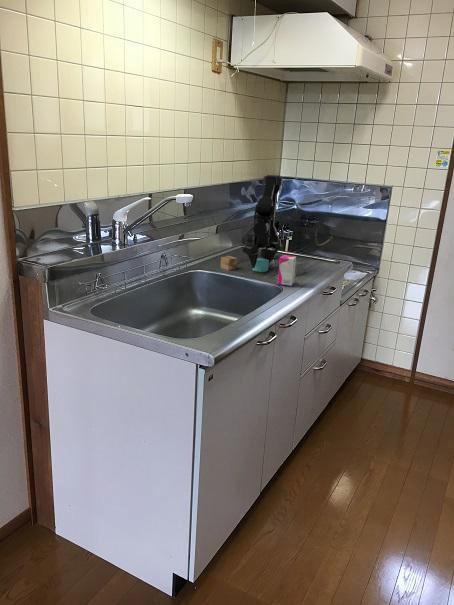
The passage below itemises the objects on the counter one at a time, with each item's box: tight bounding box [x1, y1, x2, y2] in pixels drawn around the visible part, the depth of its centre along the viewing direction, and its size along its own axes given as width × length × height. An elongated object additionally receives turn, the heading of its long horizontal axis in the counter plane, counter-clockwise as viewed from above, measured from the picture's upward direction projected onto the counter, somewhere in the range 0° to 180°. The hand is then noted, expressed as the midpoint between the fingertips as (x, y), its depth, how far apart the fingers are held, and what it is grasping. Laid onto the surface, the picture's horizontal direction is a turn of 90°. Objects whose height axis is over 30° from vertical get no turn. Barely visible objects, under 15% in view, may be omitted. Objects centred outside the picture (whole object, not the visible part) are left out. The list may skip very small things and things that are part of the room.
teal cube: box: [251, 257, 270, 273], centre depth 220 cm, size 5×5×5 cm
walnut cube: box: [220, 255, 238, 271], centre depth 220 cm, size 5×5×5 cm
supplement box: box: [277, 254, 297, 288], centre depth 200 cm, size 6×6×12 cm
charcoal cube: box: [295, 260, 305, 276], centre depth 218 cm, size 5×5×5 cm
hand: (260, 266), depth 220 cm, fingers open, 9 cm apart
